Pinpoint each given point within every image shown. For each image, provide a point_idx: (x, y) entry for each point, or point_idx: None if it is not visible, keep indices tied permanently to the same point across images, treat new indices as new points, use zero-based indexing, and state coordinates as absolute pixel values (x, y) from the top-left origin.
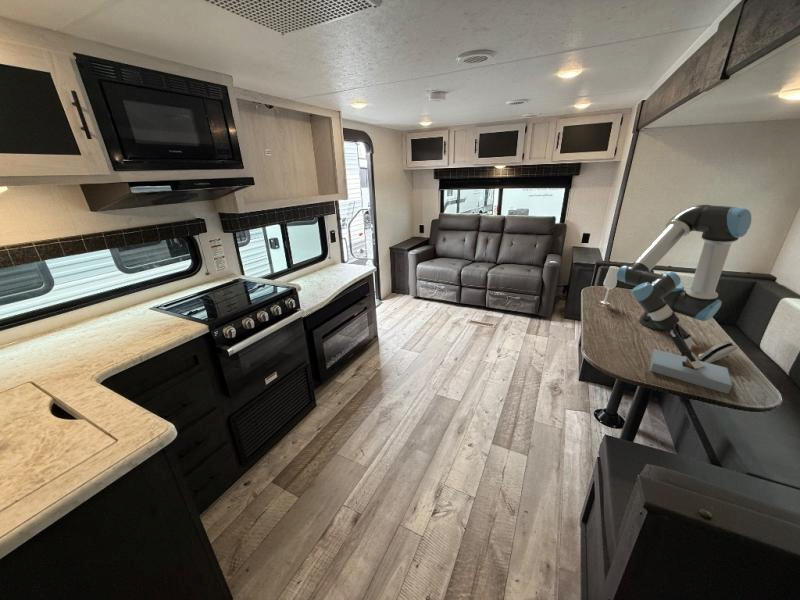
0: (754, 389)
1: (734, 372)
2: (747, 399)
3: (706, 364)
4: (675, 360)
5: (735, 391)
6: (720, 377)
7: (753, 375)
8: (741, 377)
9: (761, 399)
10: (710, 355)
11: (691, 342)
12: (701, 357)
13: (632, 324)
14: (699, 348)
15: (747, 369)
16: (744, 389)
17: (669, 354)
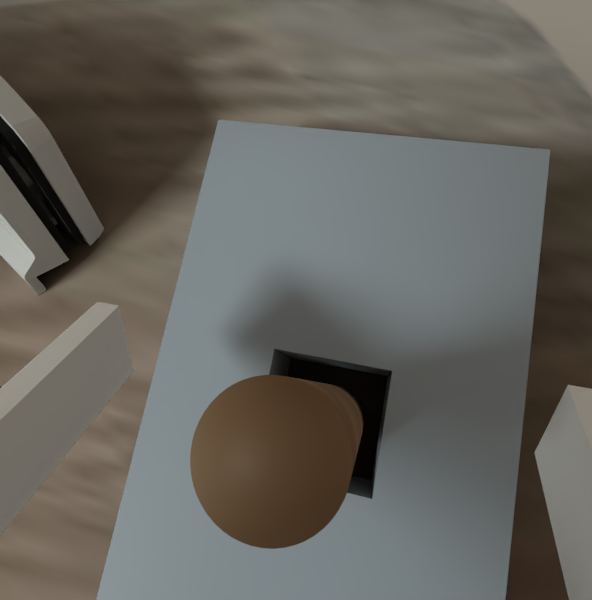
0: (346, 33)
1: (157, 88)
2: (523, 97)
3: (225, 259)
4: None
5: None
6: (438, 206)
7: (153, 2)
8: (211, 66)
9: (468, 25)
10: (41, 188)
11: (13, 428)
12: (49, 249)
13: None
14: (335, 427)
15: (86, 15)
16: (379, 84)
17: (146, 567)
